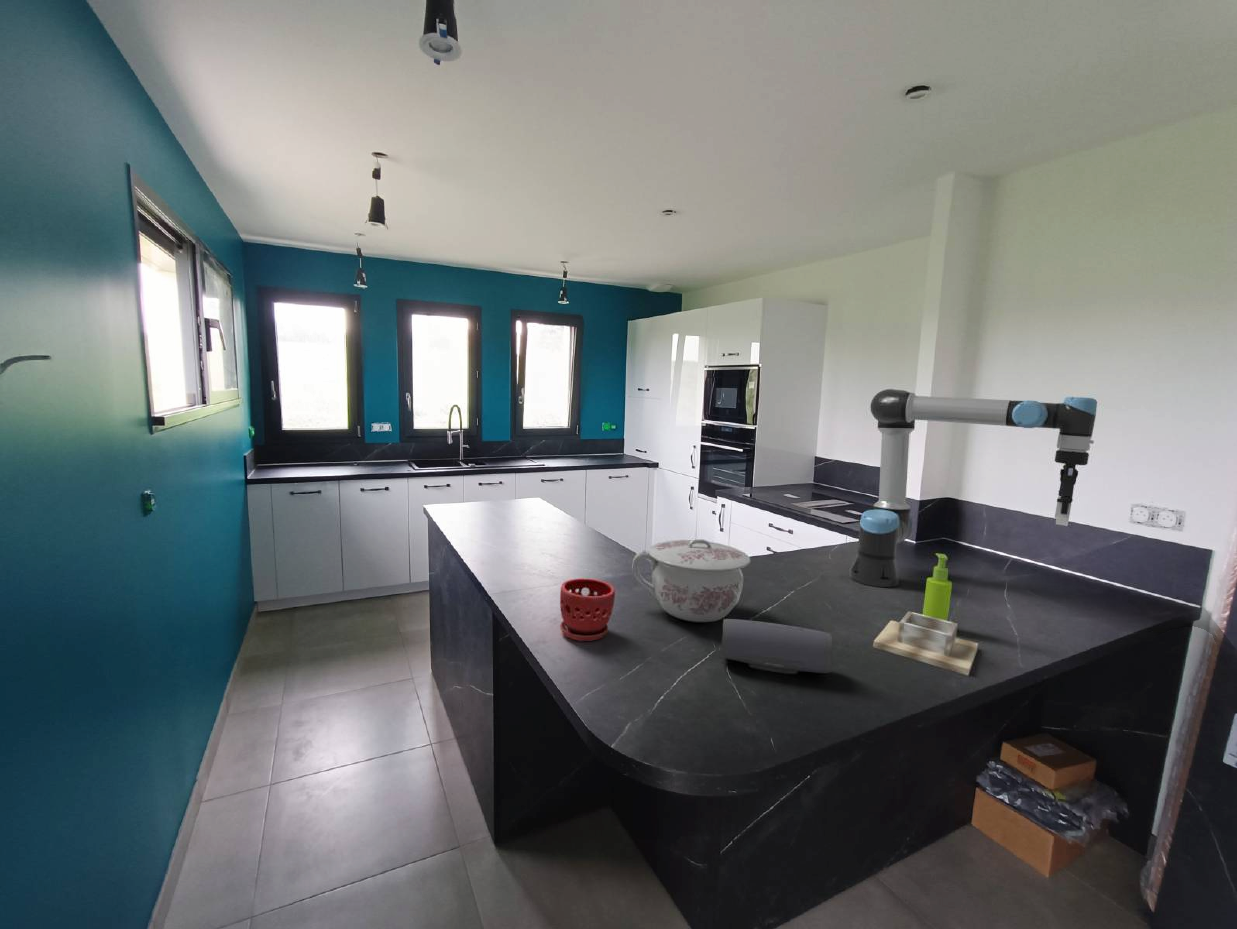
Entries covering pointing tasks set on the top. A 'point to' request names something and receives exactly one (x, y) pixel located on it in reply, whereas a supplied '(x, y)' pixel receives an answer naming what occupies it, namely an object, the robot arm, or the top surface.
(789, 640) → the bluetooth speaker
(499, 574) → the top surface
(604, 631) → the plant pot
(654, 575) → the chamber pot
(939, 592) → the soap dispenser
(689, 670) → the top surface
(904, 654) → the dispenser caddy
